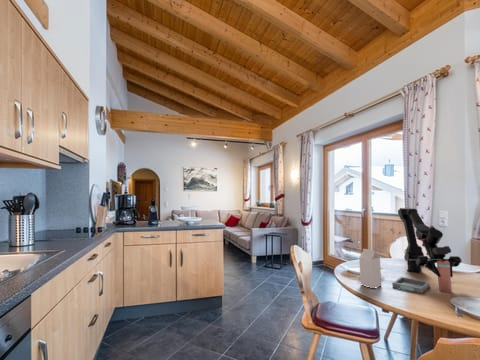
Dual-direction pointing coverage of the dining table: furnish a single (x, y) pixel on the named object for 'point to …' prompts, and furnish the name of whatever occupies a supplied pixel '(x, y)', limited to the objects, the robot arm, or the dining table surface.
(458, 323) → the dining table surface
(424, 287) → the parts tray
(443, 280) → the cartridge
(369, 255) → the milk carton
